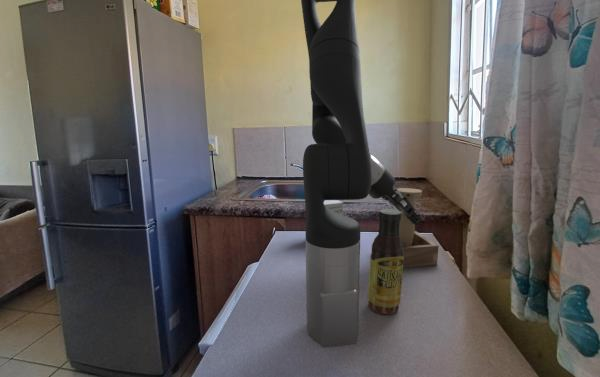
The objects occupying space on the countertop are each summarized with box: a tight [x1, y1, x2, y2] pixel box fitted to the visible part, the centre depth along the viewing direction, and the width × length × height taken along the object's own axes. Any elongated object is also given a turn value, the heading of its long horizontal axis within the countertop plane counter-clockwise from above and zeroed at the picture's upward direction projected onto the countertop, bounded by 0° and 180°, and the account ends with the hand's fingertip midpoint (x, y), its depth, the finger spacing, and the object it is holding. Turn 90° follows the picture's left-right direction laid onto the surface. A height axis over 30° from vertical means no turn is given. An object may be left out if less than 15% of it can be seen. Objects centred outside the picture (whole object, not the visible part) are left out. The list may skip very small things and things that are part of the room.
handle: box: [396, 187, 423, 247], centre depth 90 cm, size 5×6×15 cm
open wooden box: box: [403, 230, 439, 268], centre depth 92 cm, size 11×11×5 cm
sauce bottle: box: [367, 208, 404, 315], centre depth 67 cm, size 6×6×20 cm
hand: (414, 219), depth 90 cm, fingers closed on handle, 3 cm apart
